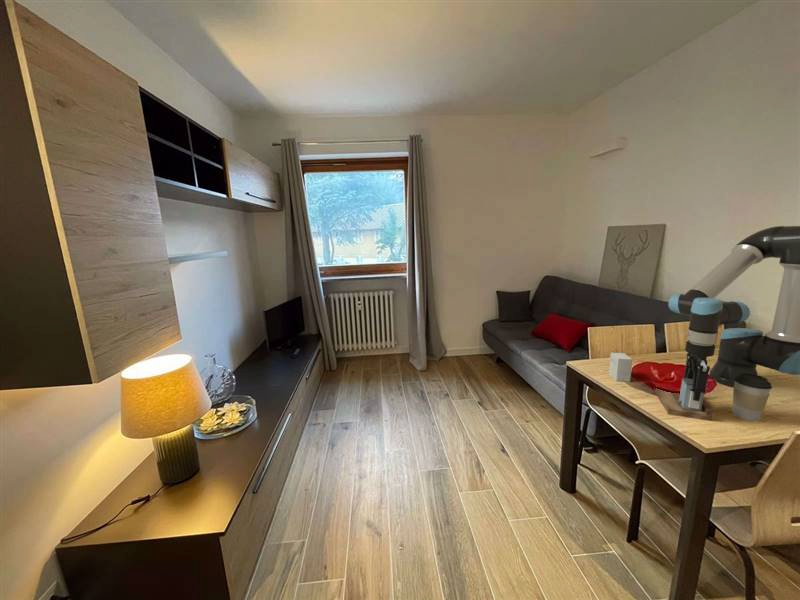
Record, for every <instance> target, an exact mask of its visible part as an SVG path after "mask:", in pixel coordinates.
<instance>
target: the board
mask: <svg viewBox="0 0 800 600" xmlns="http://www.w3.org/2000/svg"><path fill="white" fill-rule="evenodd" d="M654 390H655V391H654V393H655V392H656V393H655V395H656V396H657V398H658V399H659V401H660V403H661V405H662V406H663V407H664V409H665V411H666V413H667V415H672V416H679V417H685V418H690V419H697V420H701V421H708V422H712V419H713V416H714V415H713V414H714V410H713V409H712V407H710V405H709V404H708V403H707V401H705V399H704V398H703V403H702V409H701V411H697V410H691V409H684V408H683V407H682V406H681V404H680V403H678V402H677V400H679V397H680V394H679V393H671V392H666V391H663V390H660V389H657V388H656V389H655V388H654Z"/></svg>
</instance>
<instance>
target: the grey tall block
mask: <svg viewBox="0 0 800 600" xmlns="http://www.w3.org/2000/svg"><path fill="white" fill-rule="evenodd" d="M690 389H693V379H688V378H684V377H682V379H681V385H680V389H679V390H680V397H679V400H677V402H678V403H680V404H681V406H682V407H683V408H684V409H691V410H697V411H701V409H702V403H703V399H704V396H705V393H702V394H701V400H700V406H699V409H695V408H689V407H688V406H689V400H690V394H691V391H690Z"/></svg>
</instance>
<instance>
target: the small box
mask: <svg viewBox="0 0 800 600" xmlns="http://www.w3.org/2000/svg"><path fill="white" fill-rule="evenodd" d="M632 365H633V358H631V357H630V356H629V355H627V353H624V352H610V360H609V370H608V374H609V375H610V377H612V378H613V379H614V380H615V382H631V375H632Z"/></svg>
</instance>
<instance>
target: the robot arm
mask: <svg viewBox="0 0 800 600" xmlns="http://www.w3.org/2000/svg"><path fill="white" fill-rule="evenodd" d="M769 258H771V259H772V258H776V259H779V262H778V263H779V265H780V266H782V268H784V269H783V274H782V279H781V283H780V289H779V294H778V298H777V303H776V308H775V312H774V313H775V314H774V317H773V322H772V326H771V330H770V331H768V332H766V333H764V331H762V330H760V329H755V328H745V327H744V328H743V327H736V328H735V327H733V328H732V327H731V328H730V327H729V328H725V329H724V330H723V331H722V333H721V336H720V343H719V349H718V354H717V360H716V362H714V364H713V366H712V367H710V366H709V365H708V360H707V359H708V357H709V358H710V357H713V356H714V355H715V351H716V345H715V344H717V340H718V335H719V327H720V326H723V325H731V324H732V325H735V324H738V323H742V322H743V323H744V322H745V321H747V320H748V319H749V318H750V315H751V310H750V308H749V306H748V305H747V304H746V303H744V302H742V301H732V300H731V301H723V300H721V299H718V298H716V297H717V296H718V295H720V294H721V293H722V292H723V291H724V290H726V288H728V287H729V286H730V285H731V284H733V282H735V281H736V280H737V279H738V278H739V277H740V276H741V275H743V274H744V273H745V272H746V271H747V270H748V269H749V268H751V267H752V266H753V265H756V264H759V263H761V262H762V261H763V260H765V259H769ZM667 304H668V309H669V310H670V311H671V312H673V313H676V314H679V315H684V316H689V317H690V318H689V324H688V325H689V326H688V331H686V332H685V335H687V337H686V340H687V341H686V343H685V349H684V351H685V352H686V362H685V368H684V375H683V378H688V379H693V389H690V391H691V394H690V400H689V406H688V407H689V408H695V409H699V406H700V400H701V394H702V393H704V394H705V393H706V391H707V390H706V389H707V383H708V378H709V375H710V376H711V377H712V378H713V379H715V380H716V381H717V382H716V381H715V382H716V383H718V384H721V385H724V386H728V387H731V388H734V383H735V381H734V378H735V377H736V376H738V375H739V374H740V373H742V374H743V373H747V374H754V375H758V376H759V374H758V370H757V366H761V367H764V368H768V369H771V370H774V371H777V372H780V373H783V374H788V375H792V376H800V225H792V226H791V225H789V226H788V225H780V226H779V225H778V226H772V227H767V228H764V229H761V230H759V231H756V232H754V233H752V234H750V235H749V236H747V237H745V238H744V239H742V240H740V242H738V243H737V244H735V246H733V247H732V249H731V253H729V255H727V256H726V257H725V258H724V259H723V260H722V261H721V262H719V263H718V264H717V266H715V267H714V268H712V269H711V271H710V272H708V273H707V274H706V275H705V276H703V278H702V279H700V280H699V281H698V282H697V283H696V284H695V285H694V286H693V287H691V288H690V289H689V290H688V291H687V292H685V293H676V294H673V295H671V297H670V298H669V299H668V303H667Z"/></svg>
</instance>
